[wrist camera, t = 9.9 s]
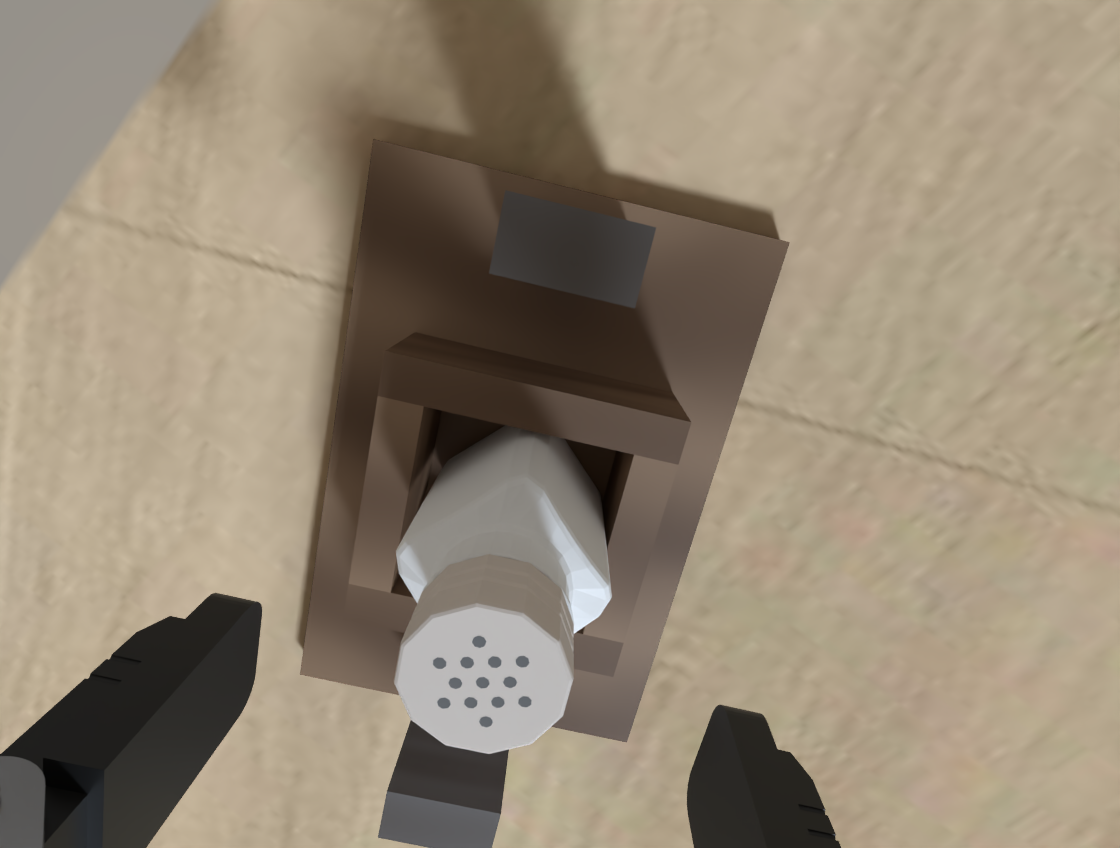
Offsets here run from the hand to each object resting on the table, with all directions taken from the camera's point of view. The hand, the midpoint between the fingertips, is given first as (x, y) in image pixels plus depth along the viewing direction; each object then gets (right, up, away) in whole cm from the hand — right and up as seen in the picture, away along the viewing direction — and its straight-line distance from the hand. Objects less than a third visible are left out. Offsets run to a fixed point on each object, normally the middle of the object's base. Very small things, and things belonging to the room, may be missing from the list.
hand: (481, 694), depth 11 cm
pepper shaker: (0, +3, +10) cm, 10 cm away
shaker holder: (0, +3, +10) cm, 11 cm away
